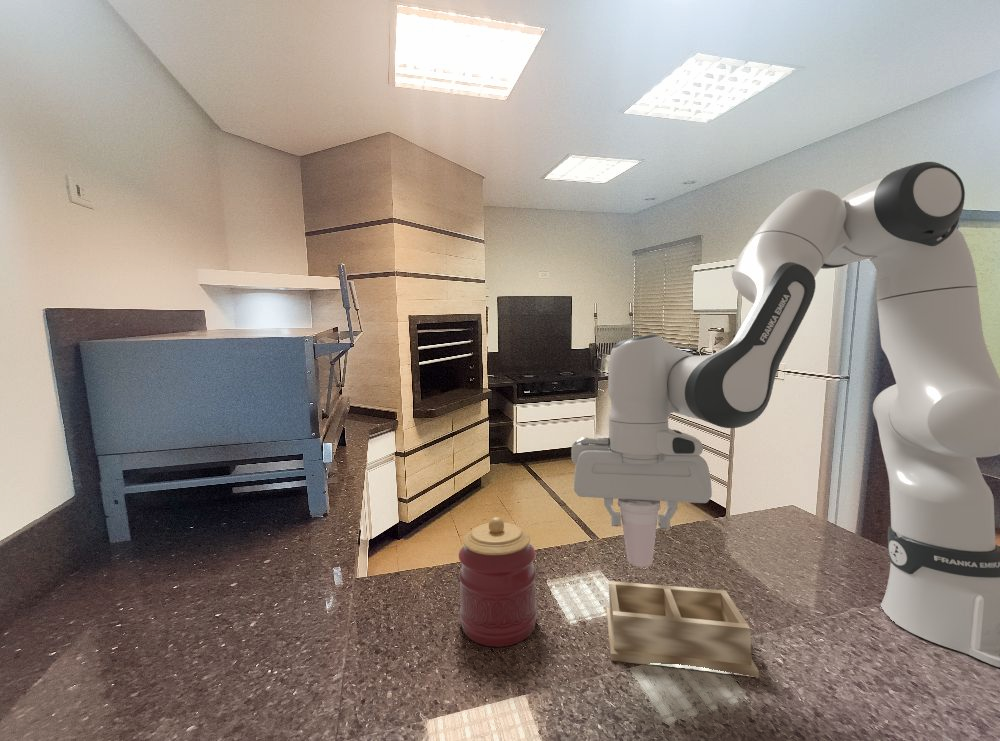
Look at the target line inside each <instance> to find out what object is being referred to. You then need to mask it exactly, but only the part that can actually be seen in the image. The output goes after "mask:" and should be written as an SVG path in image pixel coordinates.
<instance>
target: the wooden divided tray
mask: <svg viewBox="0 0 1000 741" xmlns="http://www.w3.org/2000/svg"><path fill="white" fill-rule="evenodd" d="M608 593H609V594H608V595H609V599H608V600H609V603H608V604H609V606H606V610H605V612H606V622H607V630H608V644H609V652H610V660H611V661H613V662H621V663H628V664H629V663H630V664H638V665H644V664H650V663H661V664H679V665H680V664H681V665H688V666H689V665H690V666H696V667H703V668H704V667H705V668H709V669H712V670H713V669H714V670H718V671H719V670H720V671H724V672H725V671H726V672H730V673H731V672H732V673H739V674H743V675H749V676H754V677H759V678H760V671H759V669H758V667H757V665H756V663H755V662H754V660H753V659H752V637H751V636H752V635H751V628H750V626H749V623H748V622H747V621H746V620H745V617H743V615H742V614H741V612H740V610H739V609H738V607H737V605H736V604H735V602H734V601H733V600H732V597H731V596H730V595H729V593H728V592H727V590H726V589H725V590H723V589H713V588H712V589H710V588H698V587H687V586H676V585H675V586H674V585H663V584H651V583H639V582H638V583H637V582H629V581H628V582H626V581H624V582H623V581H617V580H616V581H613V580H608Z"/></svg>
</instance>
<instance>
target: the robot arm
mask: <svg viewBox="0 0 1000 741" xmlns="http://www.w3.org/2000/svg"><path fill="white" fill-rule="evenodd" d="M965 196H966V192H965V185H964V183H963V180H962V179H961V177H960V176H959V175H958V173H957V172H956V171H954V170H953V169H952V168H950V167H948V166H947V165H944V164H942V163H939V162H936V161H924V162H919V163H914V164H911V165H908V166H905V167H901V168H899V169H896V170H893V171H892V172H890V173H888V174H886V176H884V177H881V178H880V179H877V180H874V181H872V182H870V183H868V184H866V185H863V186H860V188H857V189H855V190H852V191H851V192H849V193H848V194H846V195H845V196H844V197H842V198H841V197H840V196H838V195H837V194H835V193H833V191H832V192H831V191H829V190H827V189H823V188H820V189H819V188H811V189H803V190H801V191H797V192H795V193H793V194H791V195H790V196H789V197H787V198H786V199H784V201H782V202H781V204H779V205H778V206H777V207H776V208H775V209H774V210H773V211H772V212H771V213H770V214H769V215H768V216H767V218H766V219H765V220H764V221H763V222H762V223H761V224H760V226H759V227H758V229H757V230H756V231H755V232H754V234H752V236H751V238H750V239H749V240H748V242H747V244H746V245H744V248H743V249H742V251H741V252H740V254H739V255H738V257H737V259H736V261H735V264H734V266H733V269H732V271H731V279H732V282H733V285H734V287H735V288H736V291H737V292H738V293H739V295H741V296H742V297H743V298H745V299H746V300H747V301H749V302H750V303H752V305H751V308H750V309H749V310H748V313H747V314H746V316H745V318H744V320H743V322H742V323H741V325H740V327H739V329H738V330H737V332H736V334H735V336H734V337H733V339H732V340H731V342H729V343H728V345H726V346H725V347H723V348H721V349H720V350H718V351H716V352H714V353H712V354H704V355H694V354H693V353H689V352H687V351H684V350H683V349H680V348H677V347H676V346H674V345H672V344H670V343H669V342H668V341H666V340H665V339H663V337H662V336H661V335H659V334H646V335H641V336H636V337H631V338H627V339H623V340H620V341H618V342H616V343H615V345H614V346H612V349H611V351H610V355H609V361H608V363H609V364H608V375H607V376H608V377H607V378H608V380H607V382H608V384H607V388H608V389H607V390H608V391H607V392H608V396H609V399H610V411H609V414H608V438H607V437H596V438H589V437H581V438H580V439H578V440H576V441H575V442H574V443H572V445H571V448H570V449H571V450H570V453H571V455H570V457H571V461H572V463H573V464H574V465H575V467H574V477H573V478H574V479H573V491H574V494H576V495H577V496H578V497H580V498H593V499H594V498H596V499H603V505H604V507H605V509H606V510H607V512H608V514H609V516H610V526H611V527H622V518H621V511H620V512H619V511H615V509H614V508H613V506H614V499H615V500H618V499H631V500H651V501H660V502H664V503H665V505H666V506H667V507H666V509H665V511H664V513H662V514H658V518H657V525H658V526H657V527H658V529H659V530H664V531H665V530H667V531H669V530H671V519H672V518H673V517H674V516H675V514H676V512H677V511H678V508H679V507H678V504H679V503H694V504H697V503H698V504H706V503H708V502H709V501H710V500H711V498H712V496H713V494H712V493H713V492H712V479H711V473H710V470H709V465H708V463H707V461H706V459H705V458H703V457H702V456H701V455H702V454H703V451H704V450H703V448H704V444H703V443H702V441H701V440H700V439H698V438H697V437H696V436H693V435H690V434H688V433H685V432H683V431H680V430H677V429H672V428H670V427H669V416H670V415H671V414H672V413H675V414H678V415H680V416H685V417H689V418H692V419H696V420H702V421H703V422H706V423H709V424H712V425H714V426H717V427H720V428H724V429H737V428H741V427H745V426H747V425H749V424H751V423H753V422H755V421H756V420H757V419H758V418H760V417H761V415H762V414H763V413H764V411H765V410H766V408H767V406H768V404H769V402H770V399H771V395H772V392H773V387H774V383H775V379H776V376H777V372H778V369H779V368H780V367H779V366H780V364H781V362H782V360H783V358H784V356H785V355H786V353H787V351H788V349H789V347H790V345H791V343H792V341H793V339H794V337H795V335H796V334H797V332H798V330H799V328H800V326H801V323H802V322H803V320H804V318H805V316H806V314H807V312H808V309H809V308H810V305H811V303H812V301H813V299H814V296H815V293H816V286H817V284H816V279H815V278H816V276H817V274H819V272H820V270H821V269H823V270H824V269H825V270H827V269H835V268H841V267H844V266H846V265H848V264H852V263H857V262H861V261H864V260H868V259H869V260H870V262H871V263H872V265H873V266H874V268H875V269H876V280H875V281H876V282H875V284H876V285H875V286H876V287H875V288H876V289H875V292H876V293H875V294H876V305H877V315H878V316H877V318H878V325H879V326H878V327H879V337H880V346H881V349H882V351H883V352H884V354H885V356H886V357H887V361H888V362H889V365H890V368H891V372H892V374H893V377H894V380H895V384H893V385H890V386H888V387H886V388H885V389H883V390H882V391H880V392H879V393H878V395H877V396H876V397H875V398H874V401H873V404H872V413H873V415H874V418H875V421H876V424H877V429H878V436H879V441H880V446H881V450H882V454H883V459H884V463H885V467H886V472H887V476H888V482H889V483H888V486H889V502H890V525H889V526H888V527H887V549H888V557H889V562H890V565H889V575H888V580H887V586H886V589H885V594H884V597H883V598H882V601H881V602H880V605H881V607H882V609H883V610H884V612H885V613H886V614H887V615H888V616H889V617H890V619H891V620H892V621H891V620H890V619H889V620H890V621H891V622H893V621H894V622H895V623H894V622H893V623H894V624H895V625H897V626H899V627H901V628H902V629H904V630H905V631H907V632H909V633H911V634H913V635H915V636H918V637H920V638H922V639H924V640H926V641H929V642H931V643H933V644H937V645H939V646H942V647H945V648H949V649H951V650H954V651H957V652H960V653H962V654H963V653H964V654H966V655H969V656H971V657H973V658H976V659H977V660H980V661H982V662H984V663H987V664H989V665H991V666H994V667H997V668H1000V545H998V544H996V530H995V529H996V526H995V523H996V522H995V504H994V502H995V499H994V495H993V493H992V490H991V487H989V485H988V484H987V481H986V480H985V479H984V476H983V474H982V472H981V469H980V467H979V464H978V461H977V458H989V457H994V456H998V455H1000V375H999V374H998V371H997V369H996V366H995V365H994V363H993V359H992V358H991V357H992V356H991V355H990V353H989V349H988V347H987V344H986V342H985V336H984V330H983V324H982V317H981V315H982V314H981V307H980V298H979V288H978V286H979V285H978V280H977V274H976V268H975V263H974V261H973V258H972V254H971V251H970V249H969V246H968V244H967V243H968V242H967V241H966V238H965V237H964V235H963V234H964V233H963V232H961V231H960V230H959V229H958V228H957V226H958V223H959V221H960V217H961V215H962V212H963V208H964V204H965V198H966V197H965ZM881 607H880V608H881Z"/></svg>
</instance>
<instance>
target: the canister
mask: <svg viewBox="0 0 1000 741" xmlns="http://www.w3.org/2000/svg"><path fill="white" fill-rule="evenodd" d="M530 536H531V535H530V534H529V533H528V532H527V531H526V530H524V529H522V528H521V527H519V526H518V525H516V524H513V523H509V522H504V520H503V518H501V517H499V516H494V517H491V519H490V520H489V522H486V523H482V524H479V525H477V526H475V527H474V528H473V529H472V530H470V531H469V532H467V533H466V534H465V535H464V537H463V538H462V539H463V540H462V542H463V546H461V548H460V550H459V551H458V555H457V556H458V559H459V560H458V561H459V562H460V564H461V568H460V569H459V572H458V579H459V584H460V585H459V586H460V588H459V590H460V591H459V592H460V593H459V594H460V608H459V620H460V623H461V628H462V631H463V633H464V635H465V636H466V637H467V638H468V639H469V640H471V641H473V642H475V643H477V644H480V645H483V646H487V647H496V648H497V647H498V648H499V647H507V646H512V645H514V644H515V645H516V644H518V643H520V642H523V641H524V640H525V639H527V638H528V637H529V636H531V634H532V633H533V632H534V630H535V627H536V623H537V618H538V607H537V603H536V602H537V599H536V597H537V596H536V577H537V570H536V568H535V566H534V564H533V562H534V560H535V558H536V553H537V552H536V549H535V547H534V546H533V545H532V544H531V543H530V542H531V537H530Z"/></svg>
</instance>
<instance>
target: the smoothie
mask: <svg viewBox="0 0 1000 741" xmlns="http://www.w3.org/2000/svg"><path fill="white" fill-rule="evenodd" d="M617 506H618V507H619V510H620V515H621V526H622V531H623V538H624V539H623V540H624V545H625V551H626V559H627V562H628V563H629V564H631V565H632V566H634V567H638V568H646V567H647V568H648V567H651V566H653V560H654V551H655V544H656V543H655V542H656V534H657V533H656V532H657V527H658V526H657V525H658V515H659V511H660V510H661V501H651V500H631V499H617Z"/></svg>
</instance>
